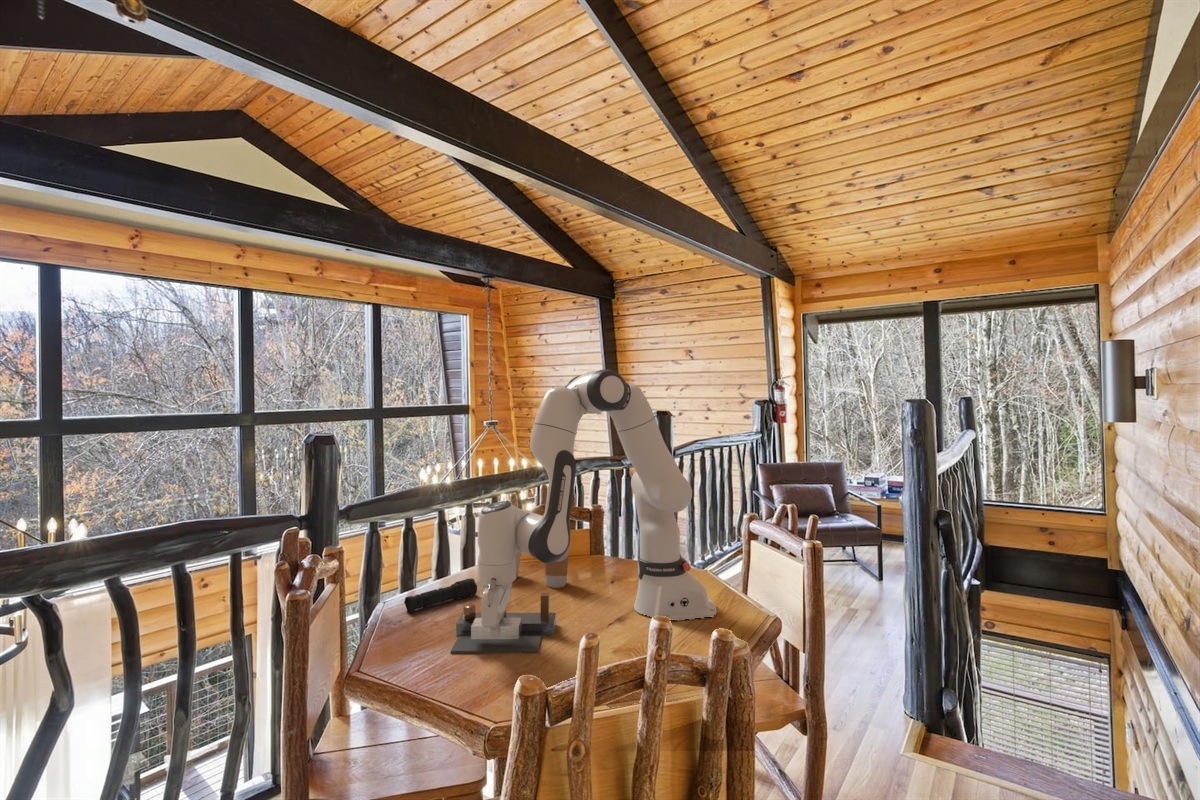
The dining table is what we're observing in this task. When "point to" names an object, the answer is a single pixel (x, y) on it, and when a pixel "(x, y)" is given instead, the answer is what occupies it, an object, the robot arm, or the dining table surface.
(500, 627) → the whitish rectangular block
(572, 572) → the dining table surface
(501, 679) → the dining table surface
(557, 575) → the coffee cup
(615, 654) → the dining table surface
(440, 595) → the flashlight
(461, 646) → the rubber mat
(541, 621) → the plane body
